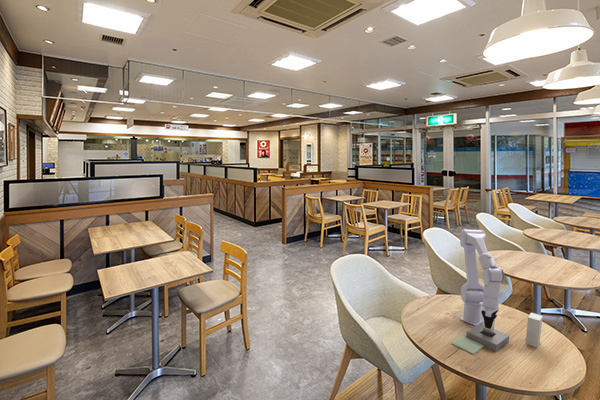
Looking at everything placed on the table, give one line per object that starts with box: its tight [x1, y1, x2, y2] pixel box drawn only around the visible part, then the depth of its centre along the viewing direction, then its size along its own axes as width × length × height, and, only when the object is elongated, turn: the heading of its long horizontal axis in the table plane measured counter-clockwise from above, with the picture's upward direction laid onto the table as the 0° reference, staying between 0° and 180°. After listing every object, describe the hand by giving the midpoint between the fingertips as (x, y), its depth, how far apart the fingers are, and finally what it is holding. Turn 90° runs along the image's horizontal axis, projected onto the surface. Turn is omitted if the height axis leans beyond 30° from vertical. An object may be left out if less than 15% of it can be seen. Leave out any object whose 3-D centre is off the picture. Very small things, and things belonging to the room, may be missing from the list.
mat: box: [451, 335, 485, 355], centre depth 131 cm, size 9×9×1 cm
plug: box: [482, 319, 496, 337], centre depth 134 cm, size 4×4×7 cm
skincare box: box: [525, 312, 543, 348], centre depth 132 cm, size 6×4×12 cm
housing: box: [465, 323, 510, 352], centre depth 135 cm, size 12×12×3 cm
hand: (488, 325), depth 134 cm, fingers closed on plug, 4 cm apart
